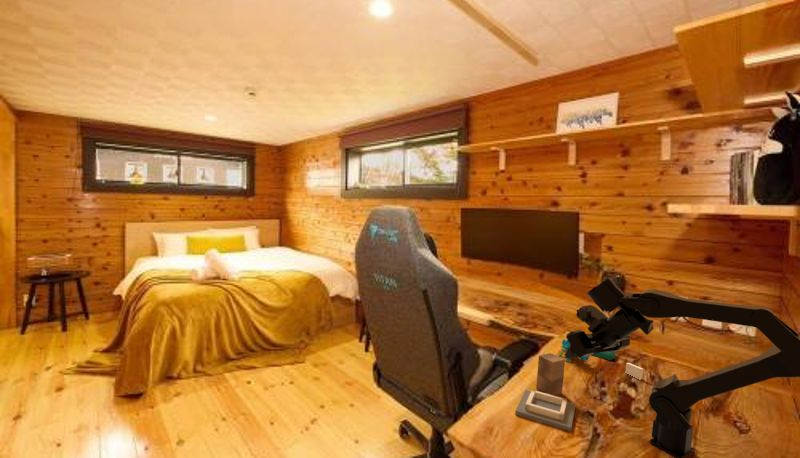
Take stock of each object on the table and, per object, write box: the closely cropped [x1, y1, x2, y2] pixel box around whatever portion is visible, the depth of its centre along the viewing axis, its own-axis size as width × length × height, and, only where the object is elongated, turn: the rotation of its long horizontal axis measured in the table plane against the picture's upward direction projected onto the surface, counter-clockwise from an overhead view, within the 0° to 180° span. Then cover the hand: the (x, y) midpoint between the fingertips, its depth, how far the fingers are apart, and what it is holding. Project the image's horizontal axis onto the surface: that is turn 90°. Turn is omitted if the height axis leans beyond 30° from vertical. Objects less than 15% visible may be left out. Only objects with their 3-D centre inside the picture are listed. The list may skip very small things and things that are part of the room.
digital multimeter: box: [590, 350, 616, 361], centre depth 143 cm, size 7×15×3 cm, turn 48°
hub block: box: [535, 352, 566, 396], centre depth 110 cm, size 5×5×10 cm
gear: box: [558, 339, 590, 362], centre depth 134 cm, size 11×6×10 cm
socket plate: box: [514, 389, 576, 432], centre depth 99 cm, size 13×13×2 cm
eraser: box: [624, 362, 644, 381], centre depth 123 cm, size 1×5×4 cm, turn 24°
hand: (577, 354), depth 104 cm, fingers open, 9 cm apart
